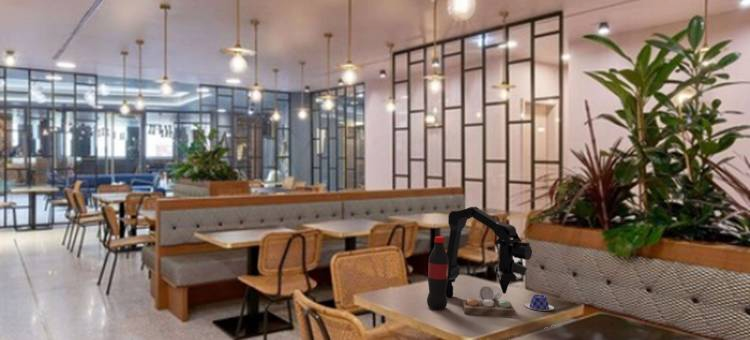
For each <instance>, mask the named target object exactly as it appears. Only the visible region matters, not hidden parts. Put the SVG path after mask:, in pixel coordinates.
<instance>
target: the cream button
mask: <svg viewBox="0 0 750 340" xmlns="http://www.w3.org/2000/svg"><path fill="white" fill-rule="evenodd" d="M482 301H483V306H486V307H493V305H494V301H495V300H494V301H493V300H488V299H485V300H482Z"/></svg>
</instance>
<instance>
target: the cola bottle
mask: <svg viewBox="0 0 750 340" xmlns="http://www.w3.org/2000/svg"><path fill="white" fill-rule="evenodd" d="M433 243H434V246H433V249H432V250H431V253H430V255H429V257H428V261H427V262H428V271H427V273H428V276H427V282H428V283H427V284H428V294H427V297H426V304H427V306H428V308H430V309H431V310H435V311H442V310H445V309H446V308H447V305H448V298H447V296H446V288H447V283H448V263H449V260H448V256H447V250H446V249H445V245H444V243H445V237H444V236H442V235H441V236H440V235H439V236H435V237H434V242H433Z"/></svg>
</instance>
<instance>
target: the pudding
mask: <svg viewBox="0 0 750 340" xmlns="http://www.w3.org/2000/svg"><path fill="white" fill-rule="evenodd" d="M524 306H525V307H526V308H528V309H531V310H536V311H543V312H545V311H553V310H554V309H555V307H554V306H553V305H551V304H549V301H548V297H547V296H546V295H543V294H534V295H532V297H531V300H530V302H527V303H525V304H524Z"/></svg>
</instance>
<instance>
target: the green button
mask: <svg viewBox="0 0 750 340" xmlns="http://www.w3.org/2000/svg"><path fill="white" fill-rule="evenodd" d="M498 302H499V306H498V307H503V308H509V306H510V303H511V302H510V301H508V300H503V299H499V300H498Z"/></svg>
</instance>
